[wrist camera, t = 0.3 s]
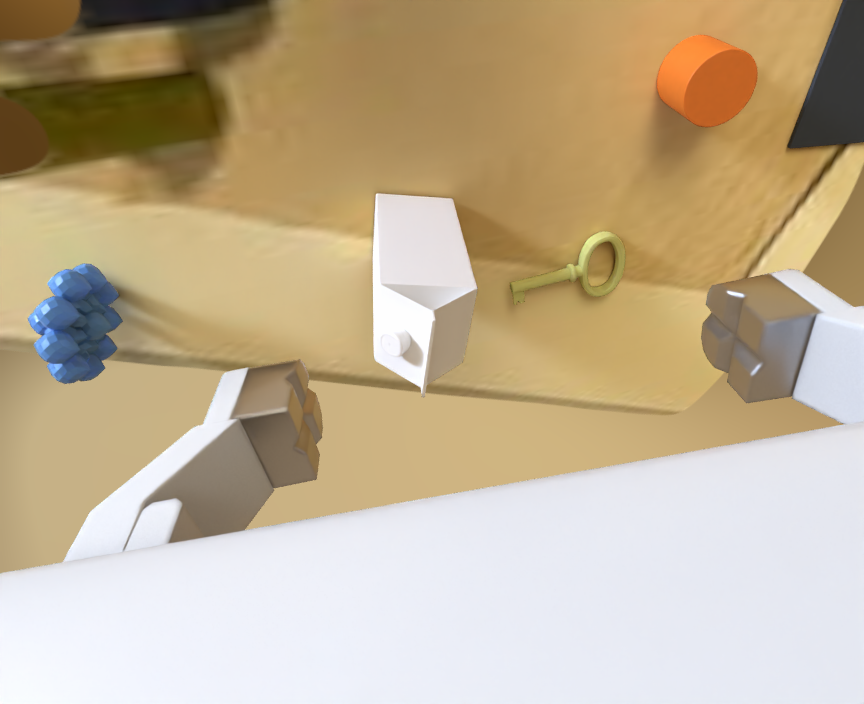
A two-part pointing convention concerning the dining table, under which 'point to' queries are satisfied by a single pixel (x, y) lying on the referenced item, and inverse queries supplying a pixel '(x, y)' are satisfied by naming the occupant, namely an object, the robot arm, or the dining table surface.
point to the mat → (836, 86)
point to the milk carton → (420, 287)
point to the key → (578, 270)
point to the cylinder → (707, 80)
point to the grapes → (76, 324)
